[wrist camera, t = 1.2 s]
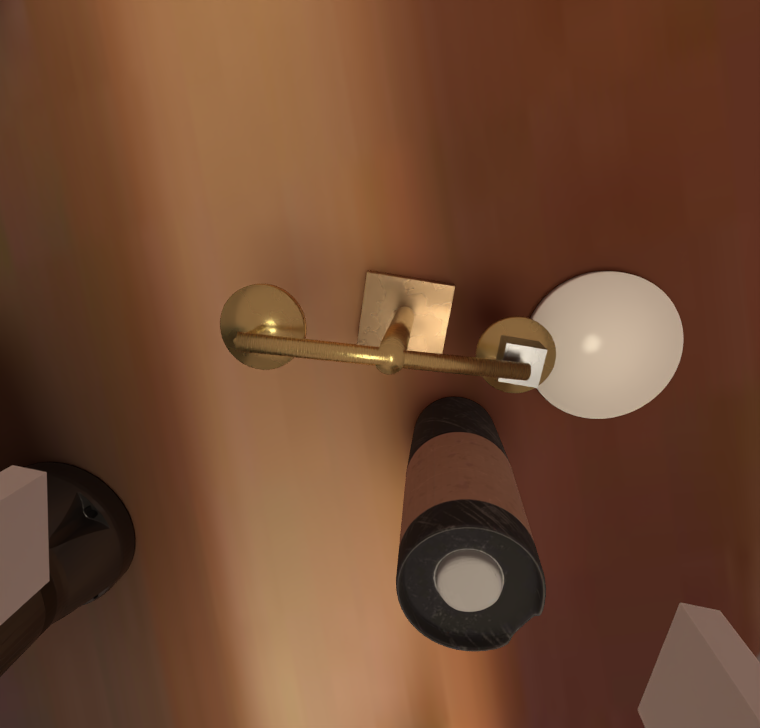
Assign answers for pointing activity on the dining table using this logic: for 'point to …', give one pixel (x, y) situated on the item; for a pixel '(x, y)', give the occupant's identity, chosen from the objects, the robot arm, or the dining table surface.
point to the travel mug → (465, 534)
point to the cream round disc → (609, 343)
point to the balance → (388, 334)
